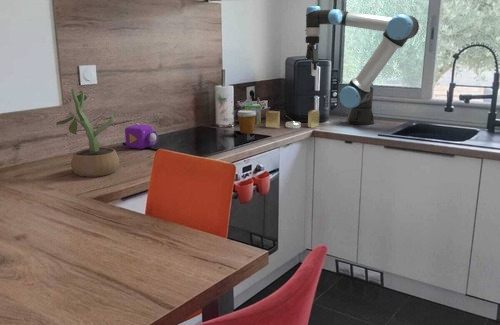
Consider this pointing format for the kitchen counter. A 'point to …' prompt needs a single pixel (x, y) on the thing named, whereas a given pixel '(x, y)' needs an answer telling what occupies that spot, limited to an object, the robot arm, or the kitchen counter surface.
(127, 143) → the toy camera
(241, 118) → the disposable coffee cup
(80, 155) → the potted plant
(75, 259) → the kitchen counter surface
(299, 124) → the base plate
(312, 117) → the yellow white layered bar
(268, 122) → the tan striped slab
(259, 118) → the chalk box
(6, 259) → the kitchen counter surface
